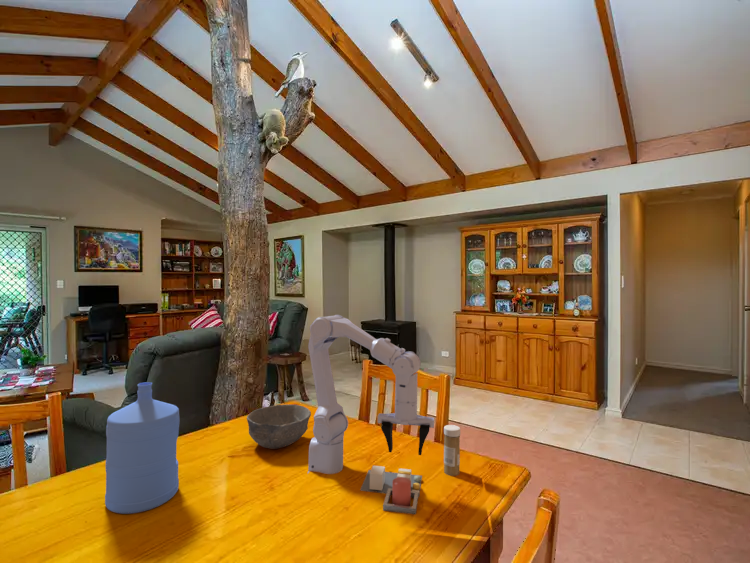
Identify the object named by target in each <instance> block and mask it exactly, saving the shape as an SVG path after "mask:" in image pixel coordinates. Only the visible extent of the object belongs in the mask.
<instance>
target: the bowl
mask: <svg viewBox="0 0 750 563" xmlns="http://www.w3.org/2000/svg"><path fill="white" fill-rule="evenodd" d="M311 416H312V413H311V410H310V408H308V407H305V406H303V405H298V404H276V405H269V406H265V407H262V408H258V409H255V410H252V412H250V413H249V414H248V415H247V417H246V420H247V424H248V434H249V436H250V437H251V439H252V440H253V441H254V442H255V443H256V444H257V445H259V446H261V447H263V448H267V449H271V450H276V449H277V450H278V449H282V448H285V447H288V446H291V445H292V444H294V443H295V442H297V441H298V440H299V439H301V437H303V436H304V435H305V433H306V432H307V430H308V425H309V424H308V423H309V421H310V418H311Z"/></svg>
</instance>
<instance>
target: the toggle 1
mask: <svg viewBox="0 0 750 563" xmlns="http://www.w3.org/2000/svg"><path fill="white" fill-rule="evenodd" d="M370 470H371V472H370V489H373V490H382V489H383V486H384V483H385V472H386V467H385V466H382V465H372V467H371V469H370Z"/></svg>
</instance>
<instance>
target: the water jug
mask: <svg viewBox="0 0 750 563" xmlns="http://www.w3.org/2000/svg"><path fill="white" fill-rule="evenodd" d="M152 386H153V382H149V381H147V382H139V383H138V384H137V392H136V393H137V399H136V401H134V402H131V403H130V404H128V405H126V406H124V407H122V408H119V409H118V410H116V411H114V412H112V413H111V414H109V415H108V417H107V420H106V427H105V436H106V459H105V494H104V504H105V507H106V508H107V510H109V511H110V512H113V513H116V514H124V515H125V514H127V515H128V514H137V513H142V512H147V511H149V510H152V509H155V508H157V507H159V506H161V505H164V504H165V503H167V502H168V501H170V500H171V499H172V498H173V497H174V496H175V495H176V493H177V492H178V490H179V486H180V484H179V482H180V480H179V461H178V459H177V442H178V438H179V434H180V432H179V431H180V423H181V421H180V417H181V416H180V408H179V407H178V406H177V405H176V404H172V403H168V402H164V401H162V400H161V401H160V400H157V399H154V398H153V389H152Z"/></svg>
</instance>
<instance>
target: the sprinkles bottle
mask: <svg viewBox="0 0 750 563" xmlns="http://www.w3.org/2000/svg"><path fill="white" fill-rule="evenodd" d="M443 435H444V439H443V441H444V442H443V472H444V474H445V475H447V476H451V477H456V476H459V475H460V463H461V461H460V460H461V458H460V456H461V450H460V445H461V444H460V441H461V440H460V438H461V437H460V436H461V427H460V426H458V425H454V424H446V425H444V427H443Z"/></svg>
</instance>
